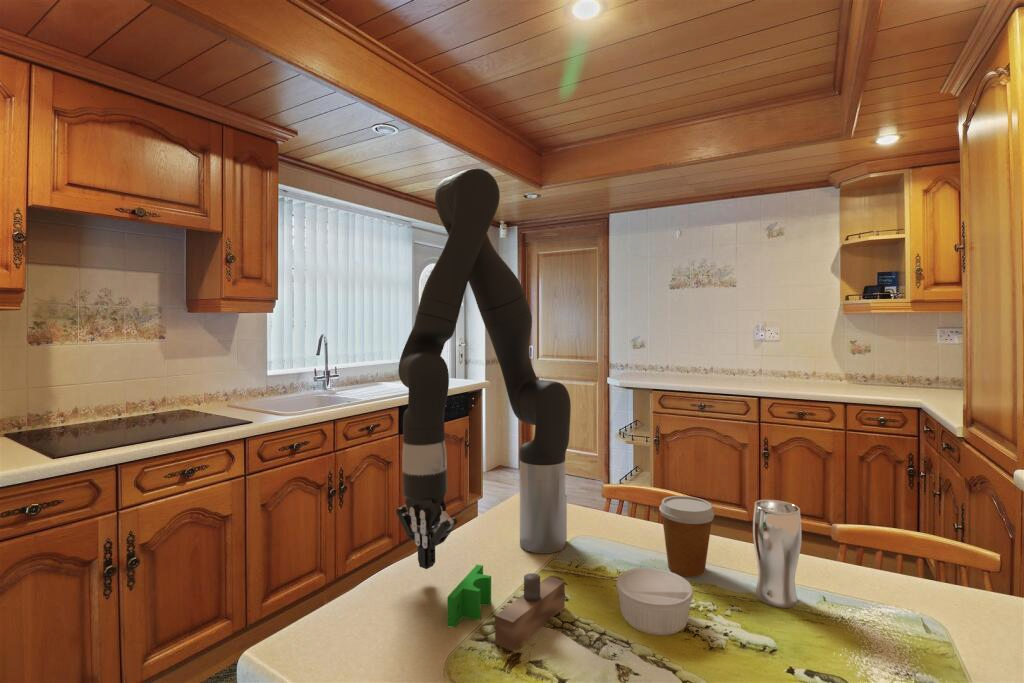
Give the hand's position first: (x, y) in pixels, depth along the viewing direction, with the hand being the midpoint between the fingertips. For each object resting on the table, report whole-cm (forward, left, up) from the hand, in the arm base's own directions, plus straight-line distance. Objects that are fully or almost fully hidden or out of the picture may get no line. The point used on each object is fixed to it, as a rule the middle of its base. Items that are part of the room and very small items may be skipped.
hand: (426, 566), depth 90 cm
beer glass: (-29, +50, -3) cm, 58 cm away
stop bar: (0, +22, -3) cm, 22 cm away
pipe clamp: (+2, +12, -3) cm, 13 cm away
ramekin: (-12, +36, -3) cm, 38 cm away
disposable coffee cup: (-31, +35, -3) cm, 47 cm away
